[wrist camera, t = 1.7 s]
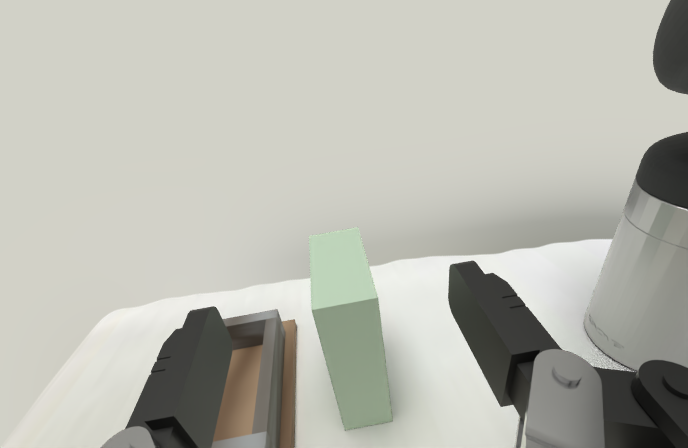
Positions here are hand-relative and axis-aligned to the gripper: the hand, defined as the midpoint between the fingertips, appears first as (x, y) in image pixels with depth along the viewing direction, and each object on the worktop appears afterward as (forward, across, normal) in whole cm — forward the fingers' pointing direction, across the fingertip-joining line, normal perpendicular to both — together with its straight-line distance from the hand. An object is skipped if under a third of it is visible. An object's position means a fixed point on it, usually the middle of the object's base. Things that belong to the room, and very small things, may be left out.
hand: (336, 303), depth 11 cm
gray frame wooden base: (+12, +13, +24) cm, 30 cm away
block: (+12, 0, +24) cm, 27 cm away
